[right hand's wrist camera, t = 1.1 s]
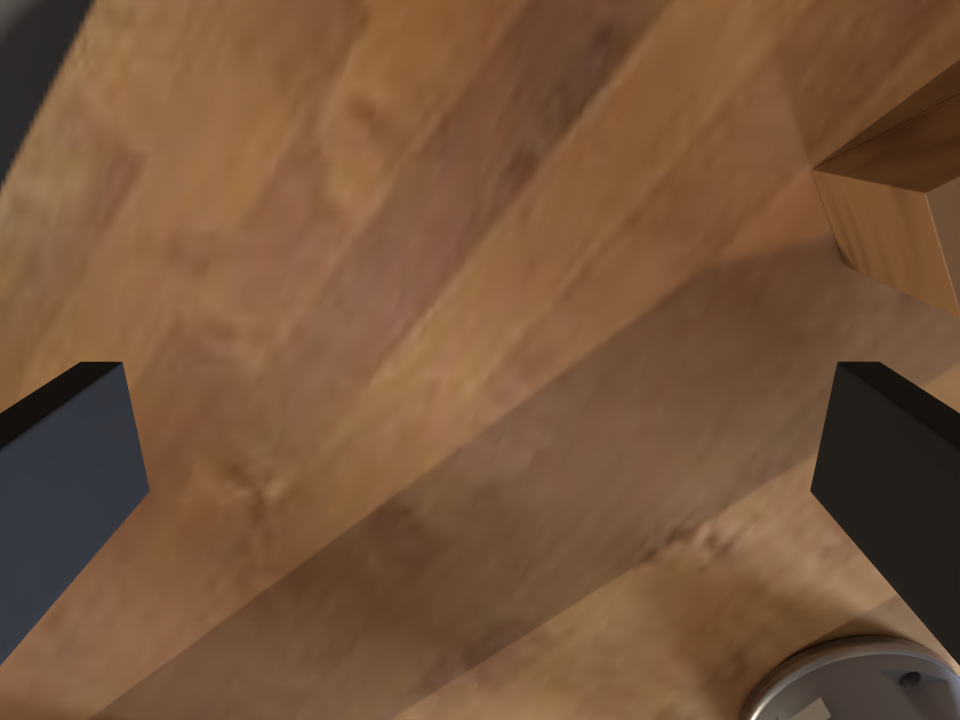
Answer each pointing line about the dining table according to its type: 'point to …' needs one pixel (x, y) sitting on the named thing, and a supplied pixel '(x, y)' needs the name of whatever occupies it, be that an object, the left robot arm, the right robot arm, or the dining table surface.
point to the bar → (902, 206)
